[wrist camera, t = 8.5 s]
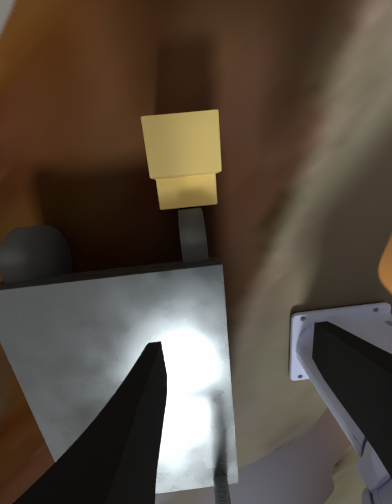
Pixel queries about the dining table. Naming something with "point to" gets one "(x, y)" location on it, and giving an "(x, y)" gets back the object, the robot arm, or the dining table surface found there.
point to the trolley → (123, 346)
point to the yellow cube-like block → (183, 157)
